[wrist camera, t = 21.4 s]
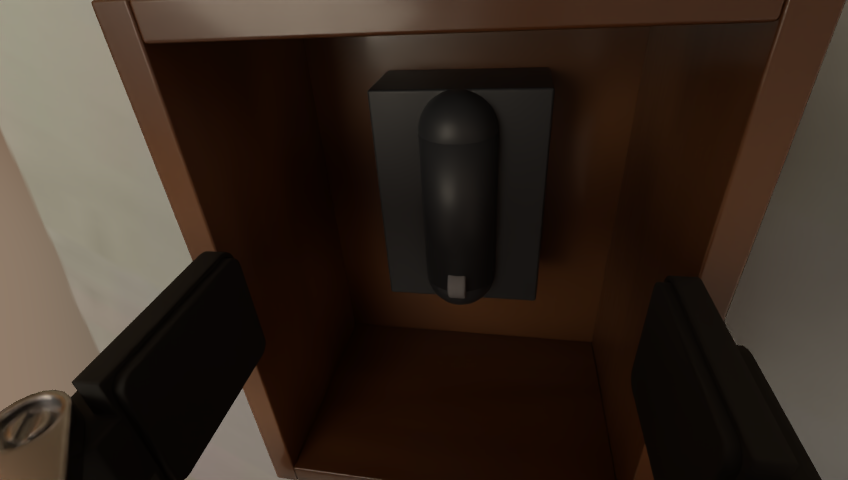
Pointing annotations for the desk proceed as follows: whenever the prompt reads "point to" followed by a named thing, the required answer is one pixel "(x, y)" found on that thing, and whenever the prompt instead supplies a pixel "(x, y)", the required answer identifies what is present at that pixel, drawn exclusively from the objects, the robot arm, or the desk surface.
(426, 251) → the black capsule on box
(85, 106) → the desk surface
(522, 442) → the chest
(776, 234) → the desk surface
